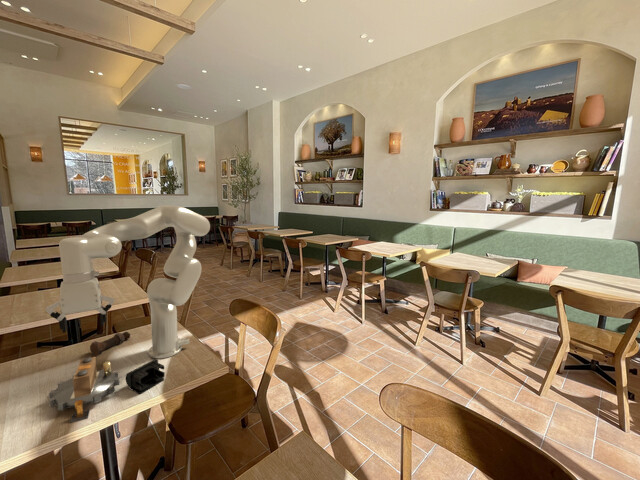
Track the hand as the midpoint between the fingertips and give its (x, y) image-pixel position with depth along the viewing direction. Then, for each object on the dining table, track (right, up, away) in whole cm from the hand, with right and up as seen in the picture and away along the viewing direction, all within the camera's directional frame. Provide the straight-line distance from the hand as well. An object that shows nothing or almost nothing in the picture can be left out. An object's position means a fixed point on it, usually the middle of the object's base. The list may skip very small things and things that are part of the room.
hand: (84, 327), depth 96 cm
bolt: (-13, -18, +32) cm, 38 cm away
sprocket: (0, -21, +1) cm, 21 cm away
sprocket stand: (+2, -23, -2) cm, 24 cm away
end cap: (+15, -23, +8) cm, 29 cm away
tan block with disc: (0, -19, +1) cm, 19 cm away
